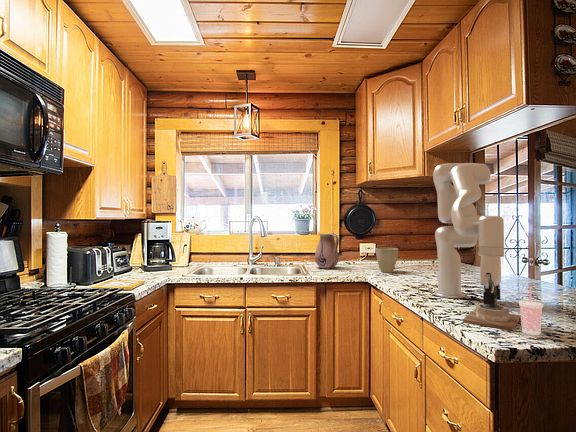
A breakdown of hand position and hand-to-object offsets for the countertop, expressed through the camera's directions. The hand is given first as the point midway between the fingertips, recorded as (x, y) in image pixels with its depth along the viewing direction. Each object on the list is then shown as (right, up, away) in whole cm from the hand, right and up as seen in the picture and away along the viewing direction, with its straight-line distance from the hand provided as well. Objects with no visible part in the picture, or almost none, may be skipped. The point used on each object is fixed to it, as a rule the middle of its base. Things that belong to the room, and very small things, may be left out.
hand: (492, 301), depth 115 cm
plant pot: (-4, -9, +110) cm, 110 cm away
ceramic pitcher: (-40, -9, +130) cm, 137 cm away
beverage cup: (+4, -6, -13) cm, 15 cm away
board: (0, -6, 0) cm, 6 cm away
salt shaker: (0, -6, 0) cm, 6 cm away
